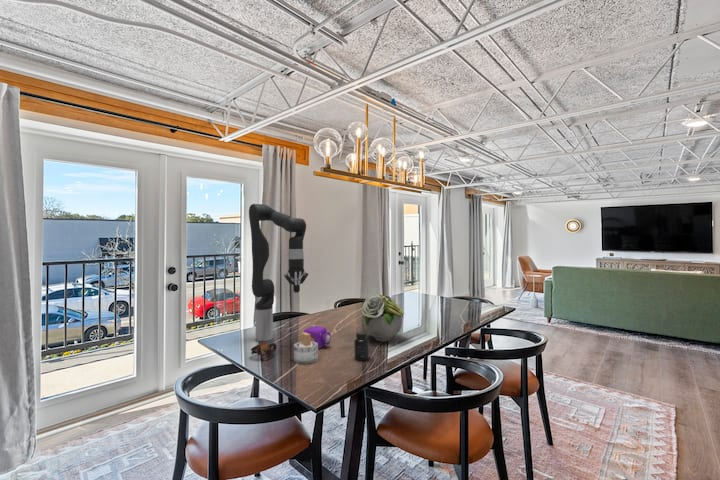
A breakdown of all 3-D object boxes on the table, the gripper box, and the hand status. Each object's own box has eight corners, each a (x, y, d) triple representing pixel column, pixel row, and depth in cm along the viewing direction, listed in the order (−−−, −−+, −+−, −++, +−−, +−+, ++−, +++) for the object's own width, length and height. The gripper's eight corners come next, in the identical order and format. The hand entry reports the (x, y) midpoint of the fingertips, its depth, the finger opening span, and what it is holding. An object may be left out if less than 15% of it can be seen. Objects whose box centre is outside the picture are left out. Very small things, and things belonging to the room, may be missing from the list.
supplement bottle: (353, 356, 162) (353, 331, 162) (368, 355, 163) (368, 330, 162) (355, 361, 155) (354, 335, 155) (369, 361, 156) (369, 334, 156)
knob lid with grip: (296, 347, 159) (296, 333, 159) (308, 345, 163) (308, 331, 163) (302, 351, 154) (302, 336, 154) (315, 348, 158) (315, 333, 158)
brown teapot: (258, 364, 154) (251, 347, 156) (254, 367, 162) (246, 351, 163) (282, 351, 162) (275, 336, 163) (276, 355, 169) (269, 340, 171)
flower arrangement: (353, 343, 181) (352, 297, 181) (369, 331, 204) (369, 290, 204) (398, 349, 172) (398, 300, 171) (410, 335, 195) (410, 292, 195)
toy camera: (327, 350, 170) (327, 330, 170) (301, 349, 173) (301, 329, 173) (333, 344, 181) (333, 325, 181) (309, 342, 184) (309, 324, 183)
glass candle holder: (289, 358, 159) (289, 344, 159) (310, 353, 166) (310, 339, 166) (300, 365, 150) (300, 350, 150) (322, 360, 157) (322, 345, 157)
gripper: (304, 257, 178) (304, 290, 179) (280, 258, 170) (281, 292, 171) (311, 257, 172) (311, 292, 173) (287, 258, 164) (287, 294, 165)
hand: (296, 292), depth 172 cm, fingers closed
